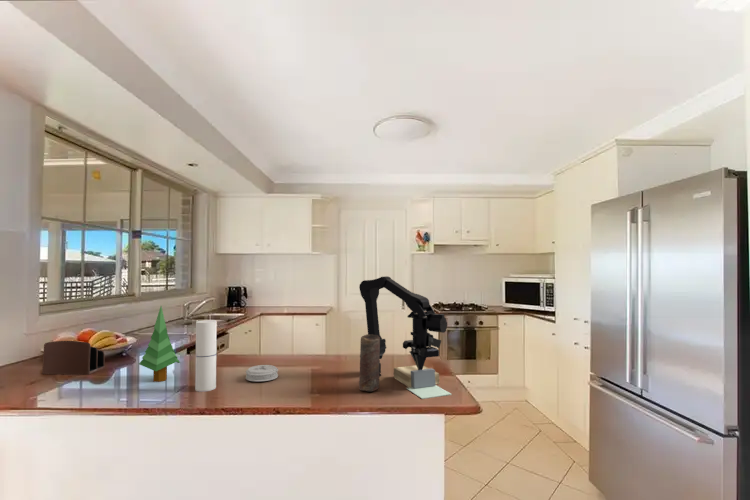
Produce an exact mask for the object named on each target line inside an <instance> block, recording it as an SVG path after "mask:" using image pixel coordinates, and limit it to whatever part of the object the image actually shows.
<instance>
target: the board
mask: <svg viewBox="0 0 750 500" xmlns="http://www.w3.org/2000/svg"><path fill="white" fill-rule="evenodd" d="M423 369H430V368H429V367H428V366H425V365H424V366H423ZM414 370H418V368H417V366H416V364H415V365H407V366H398V367H393V379H395V380H397V381H398V382H400V383H401V384H403V385H404V386H406V388H410V387H411V371H414ZM435 384H436V385H440V373H439V372H437V371H435Z"/></svg>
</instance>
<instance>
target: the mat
mask: <svg viewBox="0 0 750 500" xmlns="http://www.w3.org/2000/svg"><path fill="white" fill-rule="evenodd" d="M406 390H408V391H409V392H411V393H412V394H414V395H415V396H417V397H418V398H420V399H421V400H425V399H432V398H438V397H439V398H440V397H445V396H446V397H447V396H452V393H451V392H449V391H447V390H445V389H443V388H442V387H441V386H439V385H438V384H436V386H430V387H422V388H415V389H414V388H412V387H410V388H409V387H406Z"/></svg>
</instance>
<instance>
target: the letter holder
mask: <svg viewBox="0 0 750 500" xmlns="http://www.w3.org/2000/svg"><path fill="white" fill-rule="evenodd" d="M105 354H106V353H105V352H104V350H100V349H98V348H97V347H95V346H92V345H91V343H89V342H86V341H78V340H77V341H76V340H57V341H56V340H55V341H48V342H45V343H44V345H43V356H42V373H41V375H78V376H79V375H83V376H84V375H92V374H94V373H96V372H99V371H101V370H103V369H105Z"/></svg>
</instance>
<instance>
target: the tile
mask: <svg viewBox="0 0 750 500" xmlns="http://www.w3.org/2000/svg"><path fill="white" fill-rule="evenodd" d="M435 372H436V369H434V368H432V367H431V368H429V369H422V370H414V371H411V387H412V388H414V389H415V388H422V387H430V386H436V385H437V384H435Z"/></svg>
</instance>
